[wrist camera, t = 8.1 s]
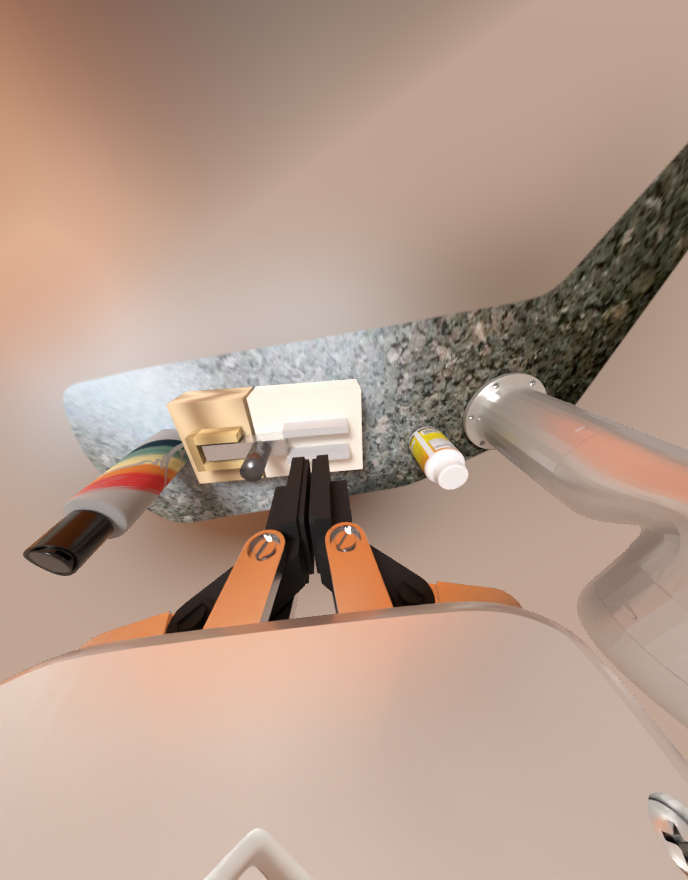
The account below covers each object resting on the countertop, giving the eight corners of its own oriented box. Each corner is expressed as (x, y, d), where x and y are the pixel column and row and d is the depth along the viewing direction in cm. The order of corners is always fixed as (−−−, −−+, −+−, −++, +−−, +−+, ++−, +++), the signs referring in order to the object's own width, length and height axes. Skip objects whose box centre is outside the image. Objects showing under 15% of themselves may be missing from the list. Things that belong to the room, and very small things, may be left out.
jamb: (252, 386, 34) (236, 405, 28) (269, 459, 40) (259, 488, 34) (186, 391, 34) (154, 412, 28) (213, 464, 40) (191, 495, 33)
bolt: (285, 431, 32) (277, 460, 26) (288, 447, 33) (281, 479, 27) (207, 438, 32) (180, 469, 26) (213, 453, 33) (188, 487, 27)
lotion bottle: (203, 450, 39) (103, 572, 21) (174, 466, 39) (56, 594, 22) (175, 421, 36) (35, 532, 18) (145, 438, 37) (-16, 559, 19)
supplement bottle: (419, 460, 43) (445, 501, 34) (401, 440, 40) (423, 478, 31) (447, 440, 41) (482, 478, 32) (429, 418, 39) (461, 451, 30)
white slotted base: (356, 379, 35) (363, 395, 29) (358, 451, 41) (365, 478, 34) (256, 386, 34) (240, 405, 28) (272, 458, 40) (263, 488, 34)
